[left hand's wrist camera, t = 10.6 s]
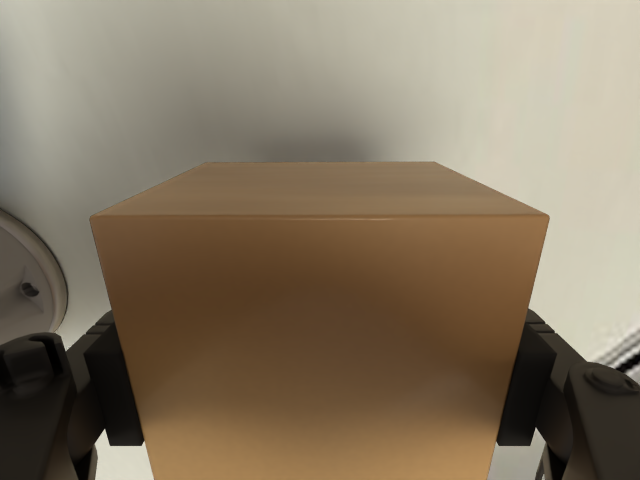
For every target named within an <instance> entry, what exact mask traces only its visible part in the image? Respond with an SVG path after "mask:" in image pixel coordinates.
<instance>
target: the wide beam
mask: <svg viewBox="0 0 640 480" xmlns="http://www.w3.org/2000/svg"><path fill="white" fill-rule="evenodd" d="M548 223H549V215H547V214H545V213H543V212H541V211H539V210H537V209H534V208H532V207H530V206H528V205H526V204H524V203H522V202H519V201H517V200H515V199H513V198H511V197H509V196H507V195H504V194H502V193H500V192H498V191H496V190H494V189H492V188H489V187H487V186H485V185H483V184H481V183H479V182H477V181H475V180H472V179H470V178H468V177H466V176H464V175H462V174H460V173H457V172H455V171H453V170H451V169H449V168H447V167H445V166H442V165H440V164H438V163H436V162H206V163H204V164H202V165H199V166H197V167H195V168H193V169H191V170H189V171H187V172H184V173H182V174H180V175H178V176H176V177H174V178H172V179H169V180H167V181H165V182H163V183H161V184H159V185H157V186H154V187H152V188H150V189H148V190H146V191H144V192H142V193H139V194H137V195H135V196H133V197H131V198H129V199H126V200H124V201H122V202H120V203H118V204H116V205H114V206H111V207H109V208H107V209H105V210H103V211H101V212H99V213H96V214H94V215H92V216H91V217H90V224H91V228H92V232H93V236H94V240H95V244H96V248H97V252H98V256H99V260H100V264H101V268H102V272H103V276H104V280H105V284H106V288H107V292H108V296H109V300H110V304H111V308H112V312H113V316H114V320H115V324H116V328H117V332H118V336H119V340H120V344H121V348H122V352H123V356H124V360H125V364H126V368H127V372H128V376H129V380H130V384H131V388H132V392H133V396H134V400H135V404H136V409H137V413H138V417H139V421H140V425H141V429H142V433H143V437H144V441H145V445H146V449H147V453H148V457H149V461H150V465H151V469H152V473H153V477H154V480H487V477H488V473H489V468H490V464H491V460H492V456H493V452H494V448H495V444H496V439H497V435H498V431H499V427H500V423H501V419H502V414H503V410H504V406H505V402H506V398H507V394H508V390H509V385H510V381H511V377H512V373H513V369H514V365H515V360H516V356H517V352H518V348H519V344H520V340H521V336H522V331H523V327H524V323H525V319H526V315H527V311H528V306H529V302H530V298H531V294H532V290H533V286H534V282H535V277H536V273H537V269H538V265H539V261H540V257H541V252H542V248H543V244H544V240H545V236H546V232H547V228H548Z"/></svg>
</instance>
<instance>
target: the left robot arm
mask: <svg viewBox="0 0 640 480" xmlns="http://www.w3.org/2000/svg"><path fill="white" fill-rule="evenodd" d="M66 305H67V292H66V286H65V282H64V278H63V275H62V273H61V270H60V268H59V266H58V264H57V262H56V260H55V259H54V257H53V255H52V254H51V252H50V251H49V250H48V248H47V247H46V246H45V245H44V243H43V242H42V241H41V240H40V239H39V238H38V237H37V236H36V235H35V234H34V233H33V232H32V231H31V230H30V229H28V228H27V227H26V226H25V225H24V224H22V223H21V222H20V221H18V220H17V219H15V218H14V217H12V216H10V215H9V214H7V213H5V212H3V211H1V210H0V480H95V475H96V468H97V460H98V456H97V450H96V447H95V442H96V441H97V439H98V438H99V436H100V435H101V433H102V432H103V430H104V429H105V430H106V433H107V437H108V440H109V444H110V446H142V444H143V442H144V437H143V433H142V429H141V425H140V421H139V417H138V413H137V409H136V404H135V400H134V396H133V392H132V388H131V384H130V380H129V376H128V372H127V368H126V364H125V360H124V356H123V352H122V348H121V344H120V340H119V336H118V332H117V328H116V324H115V320H114V316H113V312H112V310H111V311H109V312H107V313H106V314H105V315H104V316H103V317H102V318H101V319H100V320H98V321H97V322H96V323H95V326H92V327H91V328H90V329H89V330H88V331H87V332H86V335H83V336H82V337H81V338H80V339H79V340H78V341H76V342H75V343H74V344H73V345H72V346H71V347H70V348H69V349H68V350H67V351H65V348H64V345H63V342H62V339H61V336H59V335H58V334H56V333H54V332H55V331H56V329H57V328H58V327H59V325H60V324H61V322H62V320H63V317H64V314H65V311H66ZM535 428H537V429H538V431H539V432H540V434H541V435H542V437H543V438H544V440H545V441H546V444H545V447H544V450H543V453H542V456H541V460H540V463H539V466H538V469H537V472H536V478H535V480H542V476H543V474H545V480H640V386H639V384H638V383H636V382H635V381H634V380H632V379H631V378H630V377H628V376H627V375H625V374H623V373H621V372H619V371H617V370H615V369H613V368H611V367H608V366H605V365H602V364H599V363H593V362H587V361H586V360H585V359H584V358H583V357H582V356H580V355H579V354H578V353H577V352H576V351H575V350H574V349H573V348H572V347H571V346H570V345H569V344H568V343H567V342H566V341H565V340H564V339H562V338H561V337H560V336H559V335H558V334H557V333H555V331H554V330H553V329H552V328H551V327H550V326H549V325H548V324H545V321H543V320H542V319H541V318H540V317H539V316H538V315H537V314H536V313H535V312H534V311H532V310H530V309H528V311H527V315H526V319H525V323H524V327H523V331H522V336H521V340H520V344H519V348H518V352H517V356H516V360H515V365H514V369H513V373H512V377H511V381H510V385H509V390H508V394H507V398H506V402H505V406H504V410H503V414H502V419H501V423H500V427H499V431H498V435H497V439H496V441H497V443H498V445H499V446H530V445H531V441H532V438H533V435H534V431H535Z"/></svg>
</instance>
